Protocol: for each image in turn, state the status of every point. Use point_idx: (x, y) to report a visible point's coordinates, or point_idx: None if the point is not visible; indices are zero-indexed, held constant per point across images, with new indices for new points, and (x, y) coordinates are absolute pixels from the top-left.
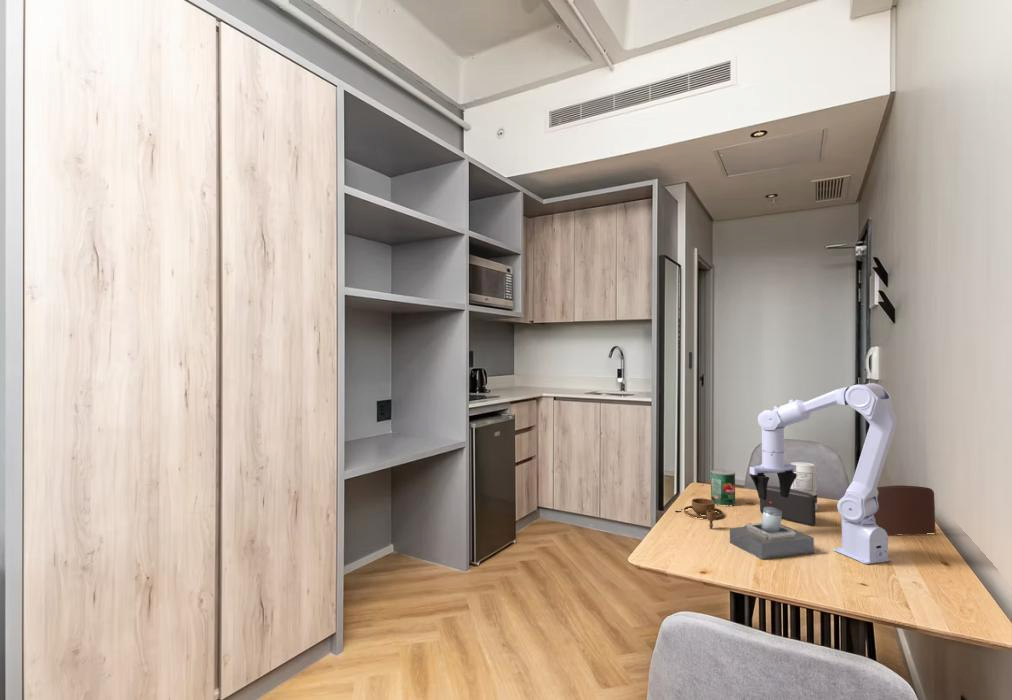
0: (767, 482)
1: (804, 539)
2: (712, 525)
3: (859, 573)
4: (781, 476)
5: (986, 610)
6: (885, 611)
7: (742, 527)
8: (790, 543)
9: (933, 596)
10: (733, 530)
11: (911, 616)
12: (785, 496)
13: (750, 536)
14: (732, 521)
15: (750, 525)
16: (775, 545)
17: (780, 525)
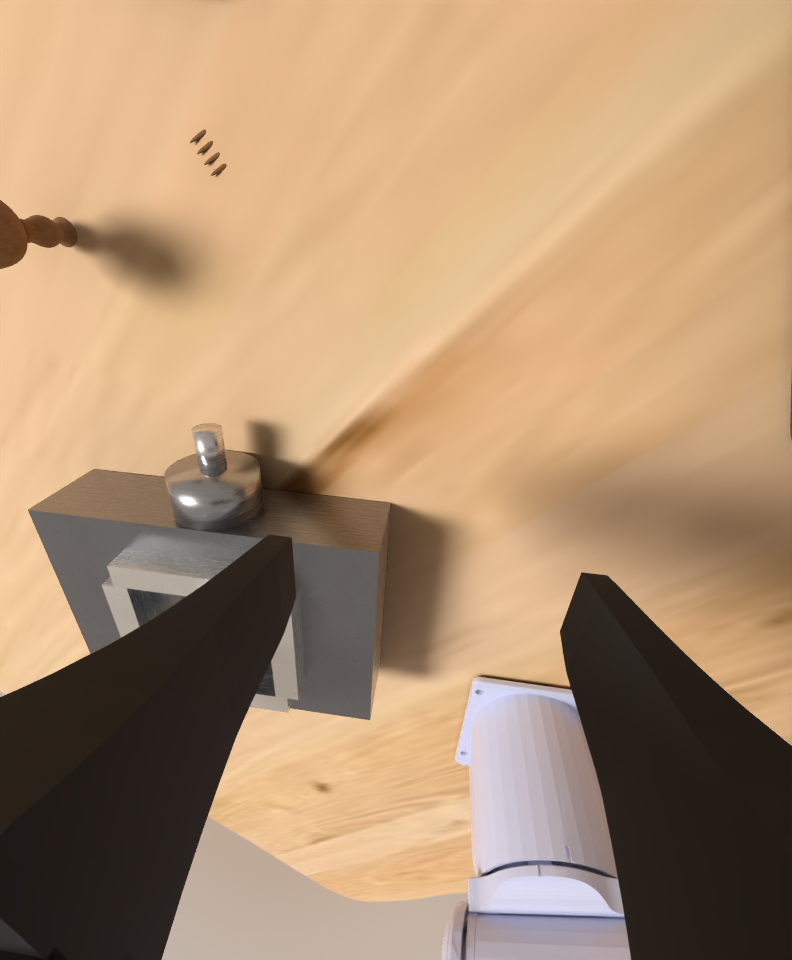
0: (186, 853)
1: (319, 709)
2: (46, 245)
3: (374, 766)
4: (730, 908)
5: (449, 887)
6: (256, 832)
7: (108, 527)
8: None
9: (417, 849)
10: (42, 534)
11: (287, 850)
12: (566, 633)
13: (91, 621)
14: (324, 106)
15: (118, 586)
16: None
17: (290, 641)
